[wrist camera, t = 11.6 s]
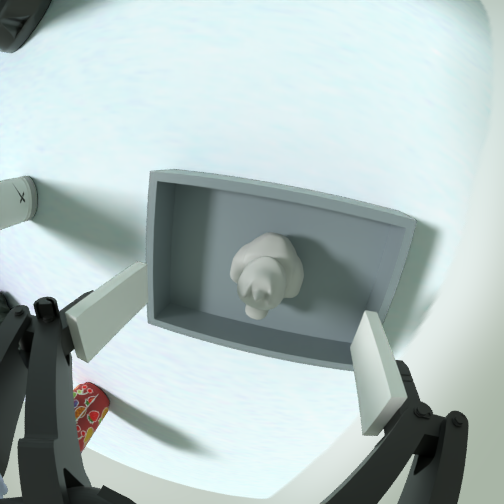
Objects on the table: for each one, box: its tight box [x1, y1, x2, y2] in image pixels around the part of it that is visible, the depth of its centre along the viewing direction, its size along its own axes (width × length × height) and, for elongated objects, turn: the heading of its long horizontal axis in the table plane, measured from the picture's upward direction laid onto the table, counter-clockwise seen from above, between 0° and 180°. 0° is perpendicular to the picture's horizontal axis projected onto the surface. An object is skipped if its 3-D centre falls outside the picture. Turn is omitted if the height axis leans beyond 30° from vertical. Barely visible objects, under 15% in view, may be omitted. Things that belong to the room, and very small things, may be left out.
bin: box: [146, 169, 417, 371], centre depth 21 cm, size 13×19×4 cm
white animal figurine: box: [230, 232, 304, 320], centre depth 19 cm, size 5×7×8 cm
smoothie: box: [73, 382, 110, 453], centre depth 28 cm, size 8×8×20 cm
